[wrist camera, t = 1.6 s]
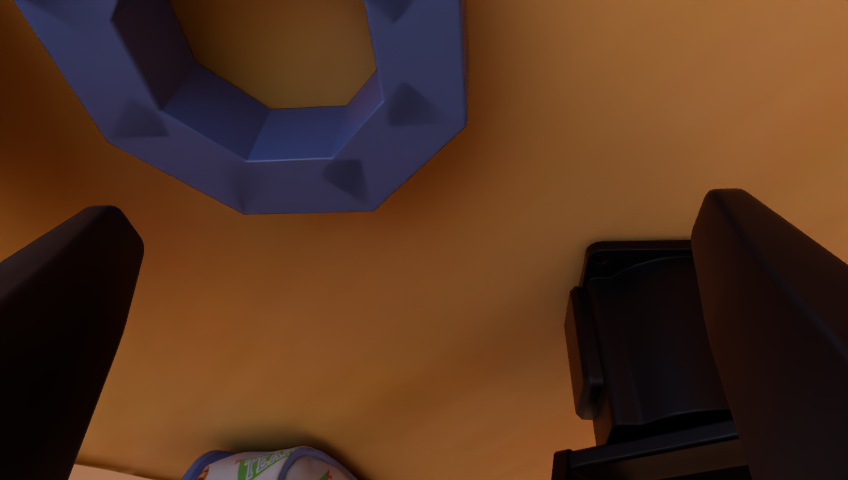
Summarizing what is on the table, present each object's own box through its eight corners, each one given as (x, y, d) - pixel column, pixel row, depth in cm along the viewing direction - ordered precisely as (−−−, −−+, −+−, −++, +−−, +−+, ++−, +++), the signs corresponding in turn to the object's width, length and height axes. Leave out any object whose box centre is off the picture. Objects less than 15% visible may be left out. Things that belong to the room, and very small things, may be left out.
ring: (454, -268, 10) (448, -254, 8) (472, 154, 17) (472, 209, 15) (-17, -204, 11) (-110, -180, 9) (186, 165, 18) (155, 217, 16)
